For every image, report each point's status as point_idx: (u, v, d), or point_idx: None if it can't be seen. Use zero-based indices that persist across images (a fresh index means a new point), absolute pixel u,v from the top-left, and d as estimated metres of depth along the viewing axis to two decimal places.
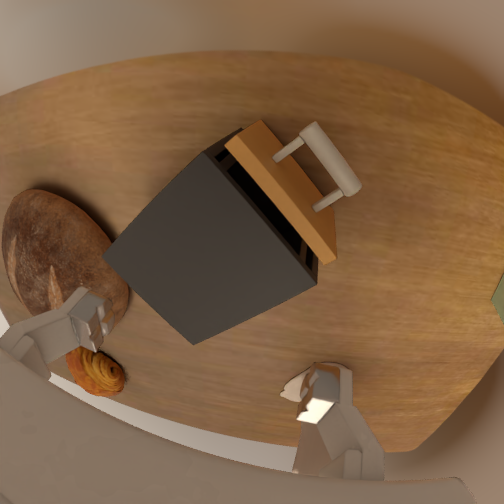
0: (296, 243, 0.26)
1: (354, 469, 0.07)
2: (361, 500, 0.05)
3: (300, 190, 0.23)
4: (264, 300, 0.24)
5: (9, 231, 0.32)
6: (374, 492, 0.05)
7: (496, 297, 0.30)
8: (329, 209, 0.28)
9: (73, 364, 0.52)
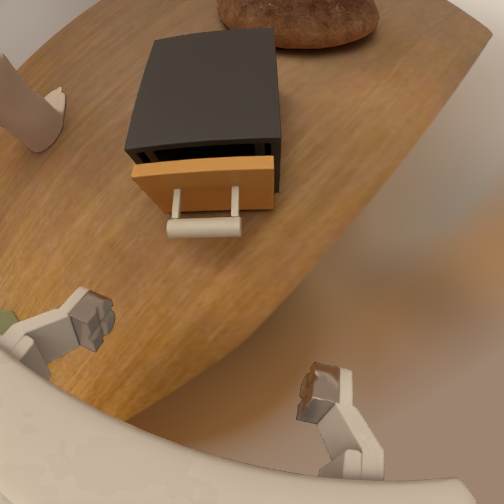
0: (163, 160, 0.26)
1: (354, 469, 0.07)
2: (361, 500, 0.05)
3: (199, 189, 0.26)
4: (143, 106, 0.23)
5: None
6: (374, 492, 0.05)
7: (12, 316, 0.30)
8: (168, 208, 0.30)
9: None
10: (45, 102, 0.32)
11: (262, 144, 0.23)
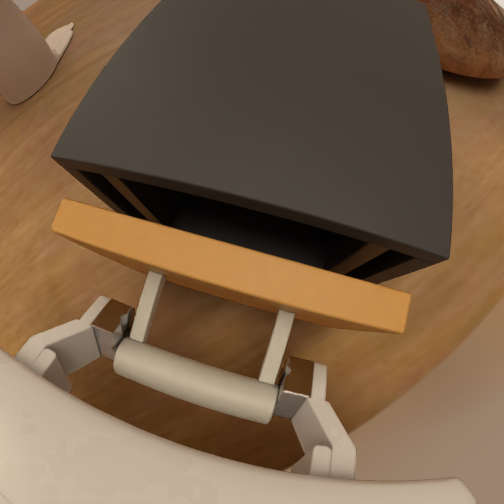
0: (146, 190, 0.12)
1: (323, 466, 0.07)
2: (361, 500, 0.05)
3: (203, 287, 0.11)
4: (128, 60, 0.09)
5: None
6: (374, 492, 0.05)
7: None
8: (145, 272, 0.16)
9: None
10: (34, 36, 0.18)
11: None
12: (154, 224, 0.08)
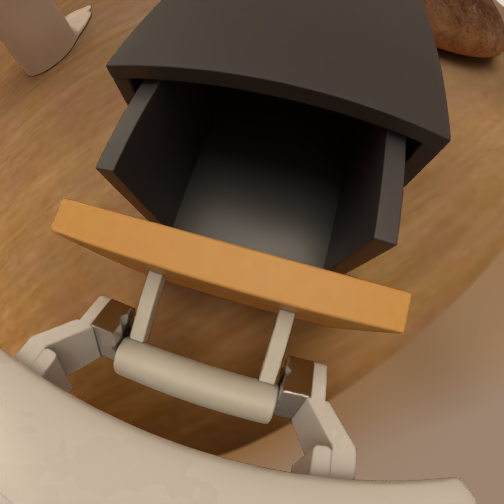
0: (146, 190, 0.12)
1: (323, 466, 0.07)
2: (361, 500, 0.05)
3: (203, 287, 0.11)
4: (174, 4, 0.10)
5: (493, 4, 0.16)
6: (374, 492, 0.05)
7: None
8: (144, 273, 0.16)
9: None
10: (57, 12, 0.18)
11: (389, 246, 0.09)
12: (154, 224, 0.08)
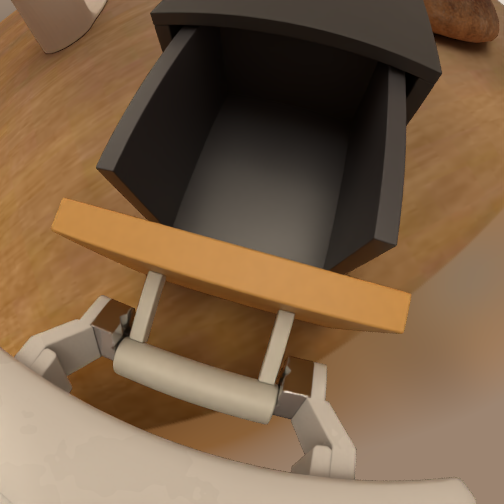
0: (146, 190, 0.12)
1: (323, 466, 0.07)
2: (361, 500, 0.05)
3: (203, 287, 0.11)
4: None
5: None
6: (374, 492, 0.05)
7: None
8: (144, 273, 0.16)
9: None
10: None
11: (389, 247, 0.09)
12: (154, 224, 0.08)
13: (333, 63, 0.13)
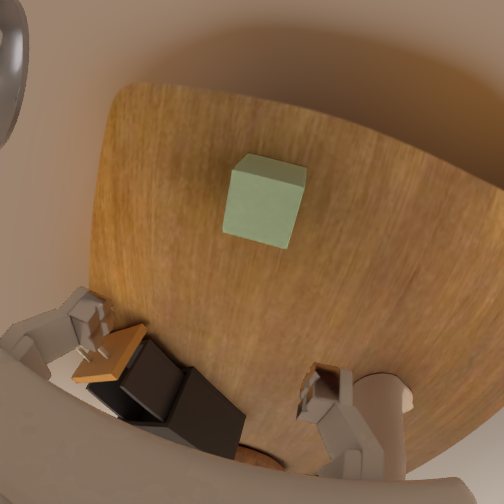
0: None
1: (354, 469, 0.07)
2: (361, 500, 0.05)
3: (102, 357, 0.35)
4: (184, 442, 0.34)
5: None
6: (374, 492, 0.05)
7: None
8: (134, 330, 0.36)
9: None
10: None
11: None
12: (101, 381, 0.32)
13: (151, 414, 0.40)
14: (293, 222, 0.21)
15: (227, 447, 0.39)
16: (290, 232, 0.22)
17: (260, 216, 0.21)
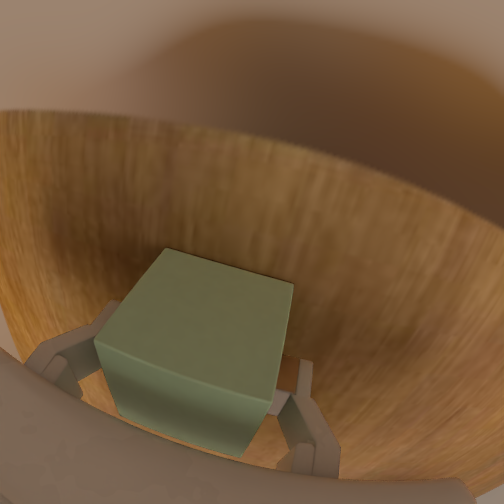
0: None
1: (305, 464, 0.07)
2: (361, 500, 0.05)
3: None
4: None
5: None
6: (374, 492, 0.05)
7: None
8: None
9: None
10: None
11: None
12: None
13: None
14: (249, 439, 0.08)
15: None
16: (244, 446, 0.09)
17: (177, 420, 0.09)
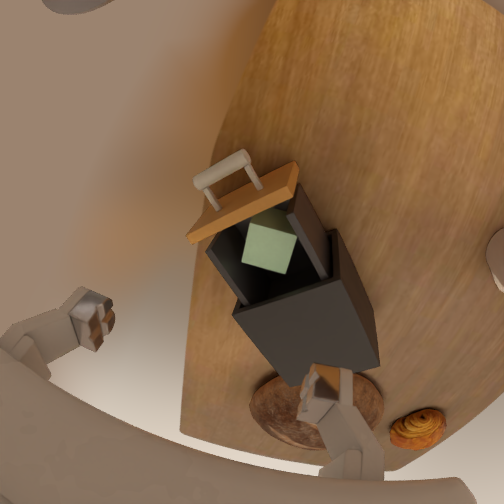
0: None
1: (354, 469, 0.07)
2: (361, 500, 0.05)
3: (245, 195, 0.30)
4: (347, 313, 0.30)
5: (265, 428, 0.52)
6: (374, 492, 0.05)
7: None
8: (286, 166, 0.32)
9: (399, 443, 0.54)
10: (503, 286, 0.30)
11: None
12: (256, 213, 0.27)
13: None
14: (289, 257, 0.32)
15: (373, 336, 0.35)
16: (287, 263, 0.33)
17: (267, 253, 0.32)
